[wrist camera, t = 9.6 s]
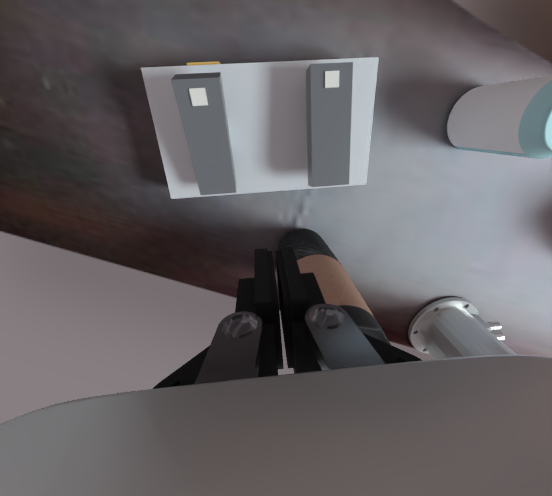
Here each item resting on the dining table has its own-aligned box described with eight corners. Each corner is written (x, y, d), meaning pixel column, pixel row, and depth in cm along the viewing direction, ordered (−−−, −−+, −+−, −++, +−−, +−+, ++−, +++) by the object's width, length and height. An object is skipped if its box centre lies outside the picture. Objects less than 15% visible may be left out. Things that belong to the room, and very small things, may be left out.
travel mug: (271, 270, 39) (290, 393, 21) (280, 223, 36) (311, 321, 18) (319, 275, 41) (375, 395, 23) (332, 230, 37) (408, 328, 20)
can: (466, 76, 31) (585, 50, 20) (510, 100, 32) (641, 89, 21) (432, 137, 33) (520, 144, 22) (474, 157, 35) (575, 172, 24)
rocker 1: (220, 72, 21) (219, 78, 19) (236, 182, 28) (236, 193, 26) (175, 74, 21) (170, 80, 19) (202, 185, 28) (200, 196, 26)
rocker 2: (344, 69, 24) (353, 61, 22) (342, 182, 27) (349, 184, 25) (305, 71, 23) (310, 63, 21) (307, 185, 27) (312, 187, 25)
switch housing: (358, 64, 29) (385, 49, 23) (350, 176, 34) (370, 186, 29) (157, 73, 28) (133, 60, 22) (181, 188, 33) (167, 202, 27)
